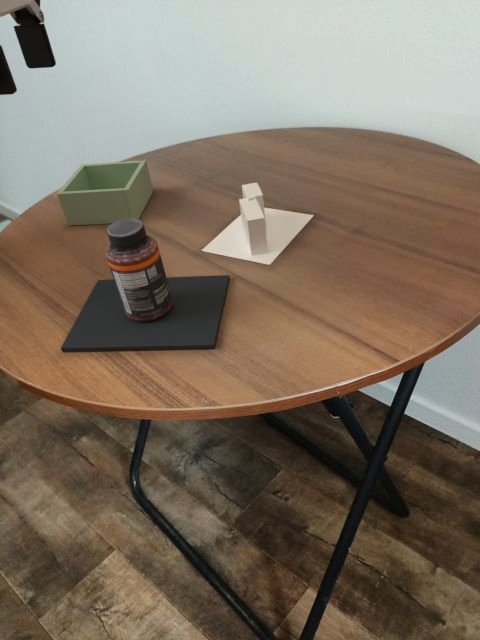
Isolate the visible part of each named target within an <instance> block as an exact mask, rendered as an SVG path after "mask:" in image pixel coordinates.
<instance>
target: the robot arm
mask: <svg viewBox="0 0 480 640" xmlns="http://www.w3.org/2000/svg"><path fill="white" fill-rule="evenodd" d="M7 15H10V16H11V18H12V19H13V20H14V22H15V23H16V24H17V25H13V30H14V32H15V36H16V38H17V41H18V44H19V47H20V51H21V54H22V56H23V59H24V62H25V65H26V67H27V68H28V69H46V68H53V67H55V66H56V65H57V61H56V58H55V54H54V51H53V49H52V45H51V41H50V39H49V34H48V32H47V29H46V25H45V14H44V12H43V10H42V9H41V0H0V18H3V17H5V16H7ZM17 91H18V89H17V85H16V83H15V80H14V77H13V74H12V72H11V68H10V66H9V63H8V60H7V58H6V55H5V51H4V48H3V45H1V44H0V96H5V95H6V96H7V95H8V96H9V95H14V94H15V93H17Z"/></svg>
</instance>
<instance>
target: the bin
mask: <svg viewBox="0 0 480 640" xmlns="http://www.w3.org/2000/svg"><path fill="white" fill-rule="evenodd" d="M153 193H154V187H153V183H152V179H151V175H150V171H149V166H148V162H147V160H130V161H113V162H101V163H99V162H98V163H97V162H96V163H83V164H80V165H79V167H77V169H76V170H75V171H74V172H73V174H72V175H71V176H70V177H69V178H68V180H67V181H66V182H65V183H64V184H63V186H61V188H60V189H59V190H58V192H57V193H56V196H57V198H58V201H59V204H60V207H61V209H62V212H63V215H64V217H65V220H66V223H67V225H68V227H69V226H86V225H89V226H90V225H107V224H108V225H109V224H110V225H111V224H113V223H115V222H117V221H119V220H123V219H138V220H140V217H141V216H142V213H143V212H144V210H145V208H146V206H147V204H148V202H149V200H150V198H151V197H152V195H153Z"/></svg>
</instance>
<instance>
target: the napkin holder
mask: <svg viewBox="0 0 480 640" xmlns="http://www.w3.org/2000/svg"><path fill="white" fill-rule="evenodd" d="M241 191H242V192H241V193H242V198H238V200H239V203H238V204H239V210H240V215H239V216H237V217H236V218H235V219H234V220H233V221H232V222H231V223H230V224H229V225H228V226H227V227H225V228H224V229H223V230H222V231H220V233H219V234H218V235H216V237H214V238H213V239H212V240H211V241H210V242H209V243H208V244H206V245H205V246H204V247H203V248H202V249H201V250H200V251H201V252H204V253H209V254H215V255H220V256H224V257H230V258H234V259H238V260H243V261H247V262H252V263H253V262H254V263H257V264H258V263H259V264H263V265H268V266H270V265H271V264H272V263H273V262H275V260H276V259H277V257H278V256H279V255H280V254H281V253H282V252H283V251H284V250H285V249H286V247H288V245H289V244H290V243H291V242H292V241H293V240H294V239H295V237H296V236H298V234H299V233H300V232H301V231H302V230H303V228H304V227H305V226H306V225H308V223H309V222H310V221H311V220H312V218H313V217H314V216H315V215H314V214H308V213H302V212H296V211H289V210H284V209H276V208H270V207H265V204H264V203H265V202H264V194H263V191H262V189H261V187H260V186H259V184H258V182H251V183H244V184H241Z"/></svg>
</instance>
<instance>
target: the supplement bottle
mask: <svg viewBox="0 0 480 640" xmlns="http://www.w3.org/2000/svg"><path fill="white" fill-rule="evenodd" d="M144 225H145V224H144V222H143V221H142V220H140V219H123V220H119V221H117V222H115V223H111V224H110V225H109V226H107V229H106V233H107V236H108V241H109V244H108V246H107V247H106V250H105V257H106V261H107V264H108V267H109V269H110V273H111V275H112V278H113V279H114V282H115V284H116V287H117V290H118V293H119V296H120V299H121V302H122V305H123V308H124V310H125V312H126V314H127V316H128V317H129V318H131V319H133V320H135V321H139V322H146V321H153V320H156V319H158V318H160V317H162V316H164V315H165V314H166V313H167V312H168V311H169V310H170V309H171V307H172V303H173V301H172V297H171V292H170V289H169V285H168V281H167V277H168V276H167V274H166V271H165V270H166V269H165V267H164V262H163V259H162V256H161V252H160V248H159V244H158V242H157V240H156V239H155V238H154V237H153V236H151V235H149V234H148V233H147V230H146V229H145V226H144Z"/></svg>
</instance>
